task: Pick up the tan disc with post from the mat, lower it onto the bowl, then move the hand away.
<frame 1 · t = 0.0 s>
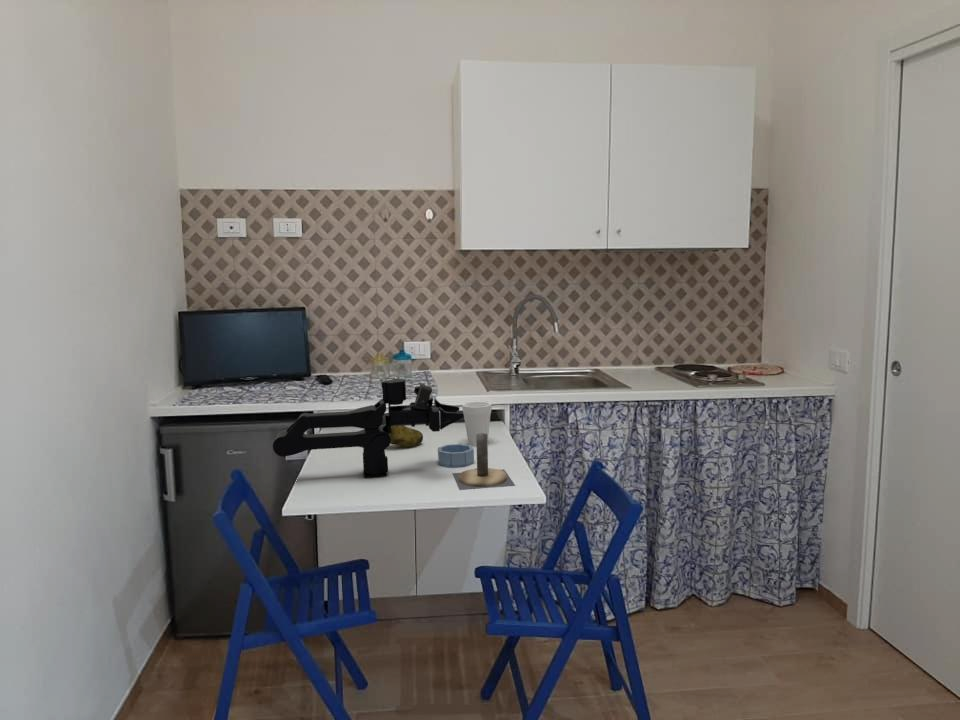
hand: (461, 412, 211), 17 cm above the table, tool horizontal, fingers open, 9 cm apart
foam cup: (477, 443, 240), on the table
tan disc with post: (482, 479, 201), resting on mat
mat: (482, 480, 201), on the table
potato: (403, 447, 238), on the table
bowl: (456, 463, 218), on the table
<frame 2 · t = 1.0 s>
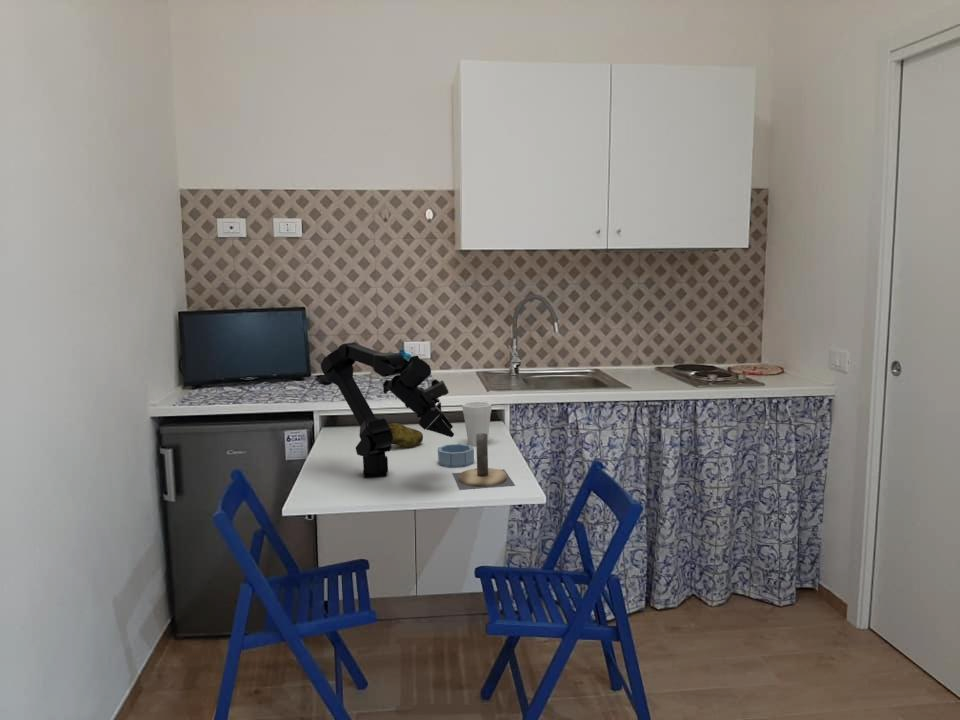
hand: (452, 431, 199), 14 cm above the table, tool tilted 45°, fingers open, 9 cm apart
nothing on the table moved.
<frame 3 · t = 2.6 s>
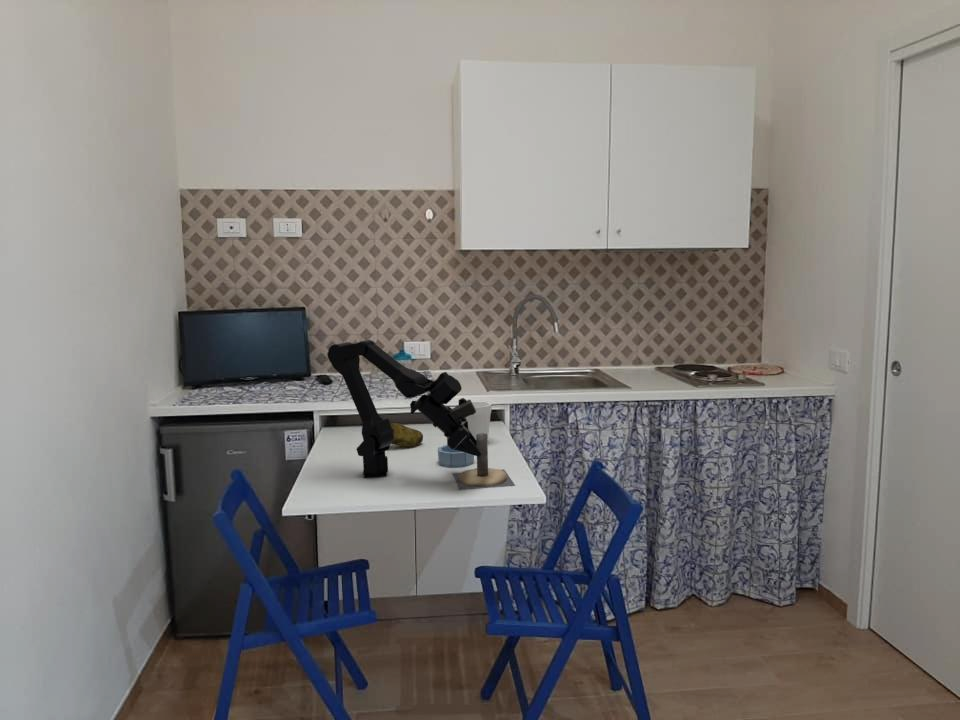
hand: (479, 450, 200), 8 cm above the table, tool tilted 45°, fingers open, 9 cm apart
nothing on the table moved.
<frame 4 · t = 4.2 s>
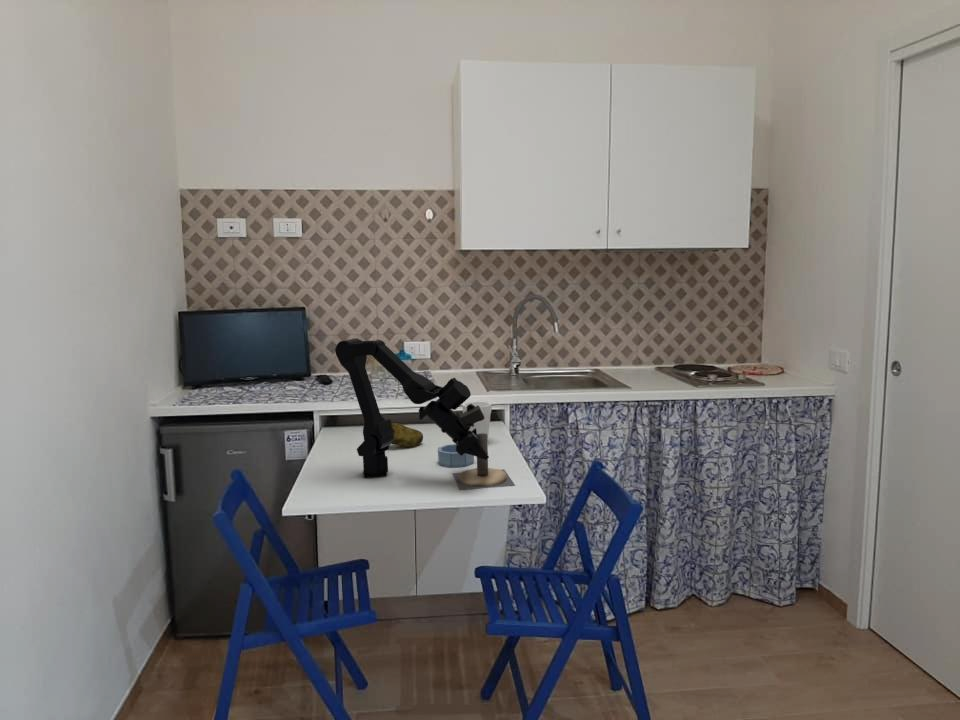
hand: (487, 456, 200), 7 cm above the table, tool tilted 45°, fingers closed on tan disc with post, 3 cm apart
tan disc with post: (482, 479, 201), resting on mat, touching gripper
everything else where it was.
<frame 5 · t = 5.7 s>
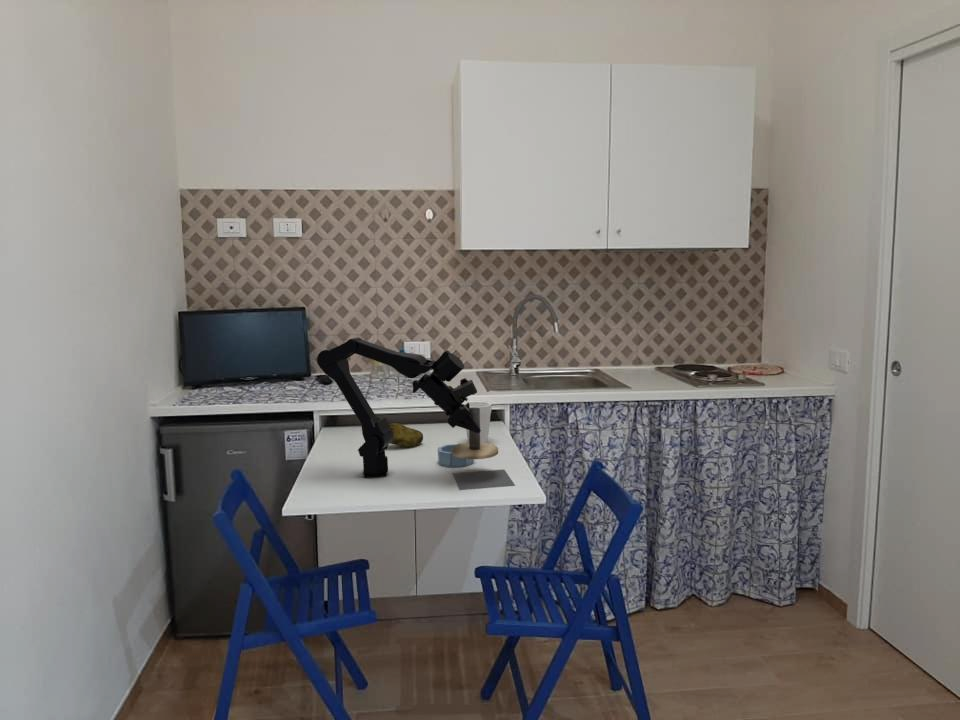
hand: (479, 430, 203), 13 cm above the table, tool tilted 45°, fingers closed on tan disc with post, 3 cm apart
tan disc with post: (474, 452, 204), point 7 cm above the table, touching gripper
everything else where it was.
when the fingers open (12 cm above the table, at t = 7.3 s): tan disc with post stays where it is, resting on bowl.
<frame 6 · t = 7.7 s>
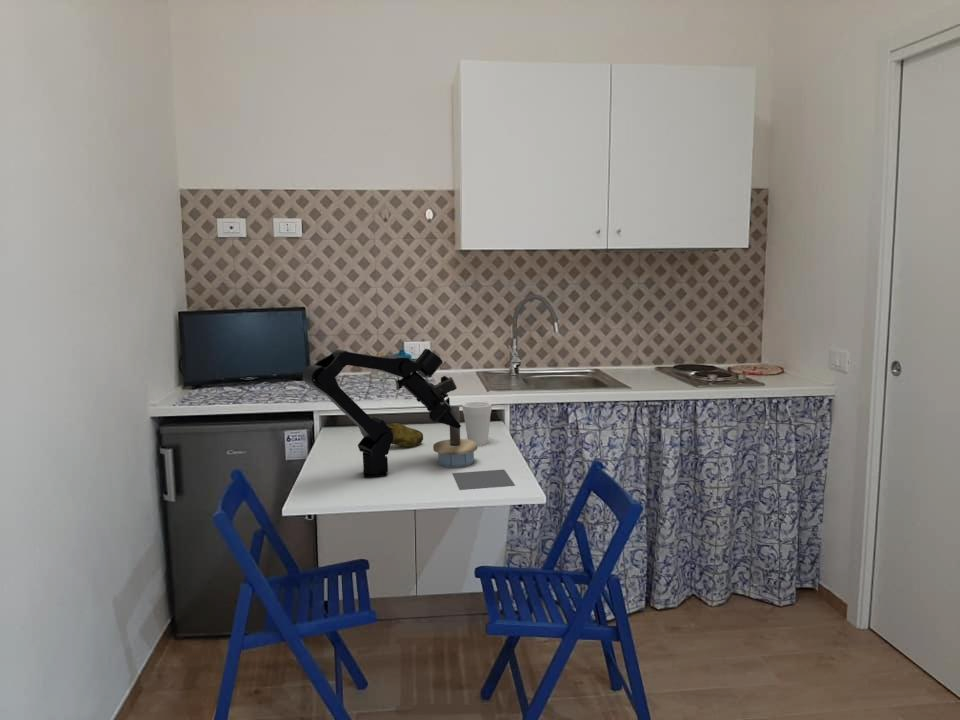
hand: (459, 424, 216), 12 cm above the table, tool tilted 45°, fingers open, 7 cm apart
tan disc with post: (455, 448, 217), point 4 cm above the table, touching bowl
everything else where it was.
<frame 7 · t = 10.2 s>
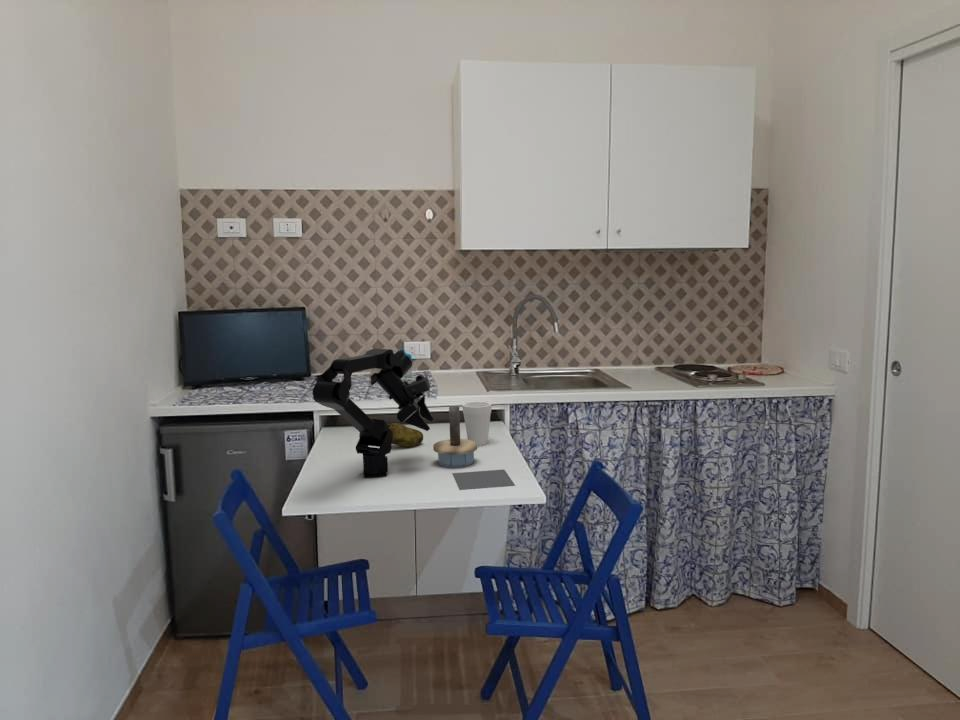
hand: (430, 424, 216), 12 cm above the table, tool tilted 40°, fingers open, 9 cm apart
nothing on the table moved.
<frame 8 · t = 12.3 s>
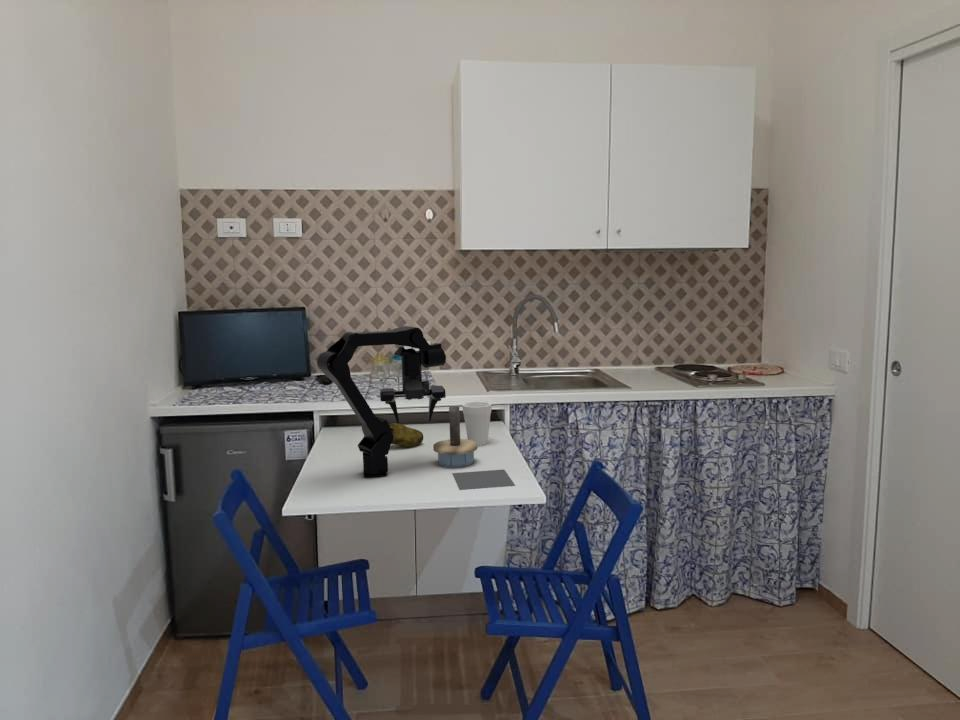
hand: (413, 422, 215), 13 cm above the table, tool pointing down, fingers open, 9 cm apart
nothing on the table moved.
at the end: tan disc with post 0.1 cm off-centre on the bowl, point 4.5 cm above the bowl's base; tan disc with post tilted 0°; the gripper is holding nothing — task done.
